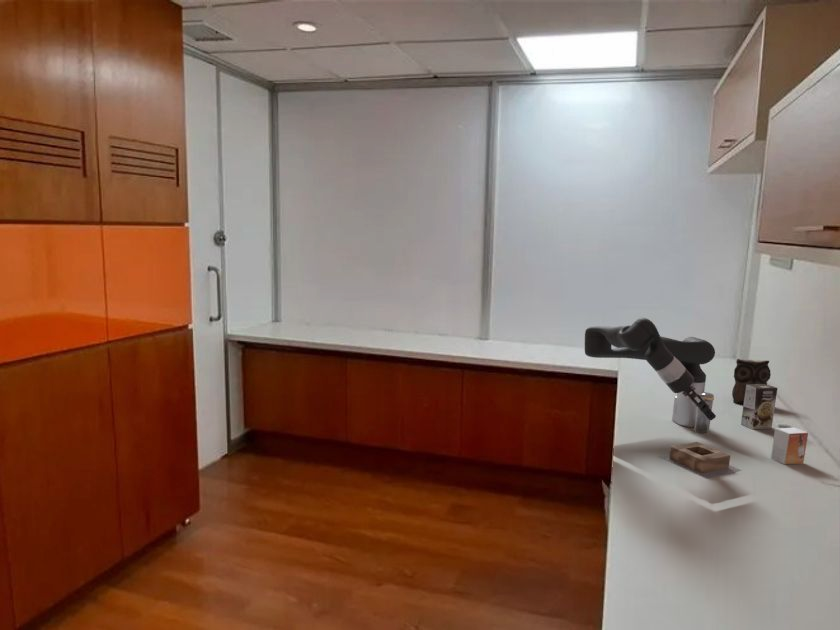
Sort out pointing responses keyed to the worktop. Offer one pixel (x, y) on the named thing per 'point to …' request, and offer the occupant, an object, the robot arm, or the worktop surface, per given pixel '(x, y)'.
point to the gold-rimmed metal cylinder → (701, 418)
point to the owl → (748, 377)
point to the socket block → (699, 457)
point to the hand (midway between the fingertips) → (710, 415)
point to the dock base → (705, 475)
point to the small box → (789, 445)
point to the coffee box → (759, 406)
